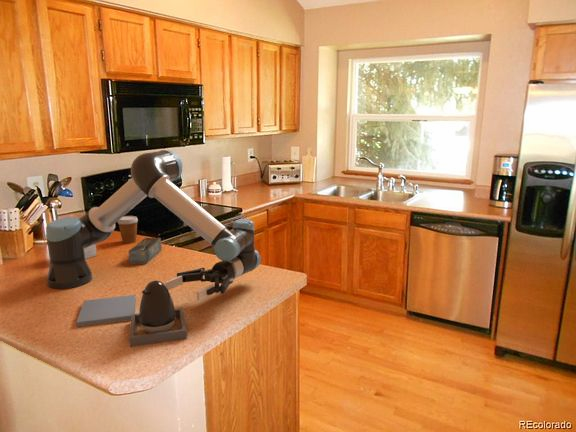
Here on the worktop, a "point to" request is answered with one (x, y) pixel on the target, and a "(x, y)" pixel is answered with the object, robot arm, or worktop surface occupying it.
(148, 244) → the beverage carton
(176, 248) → the worktop surface
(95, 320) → the slate-blue board
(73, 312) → the worktop surface
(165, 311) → the dark brown egg shape
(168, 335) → the gray open frame
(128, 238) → the disposable coffee cup
